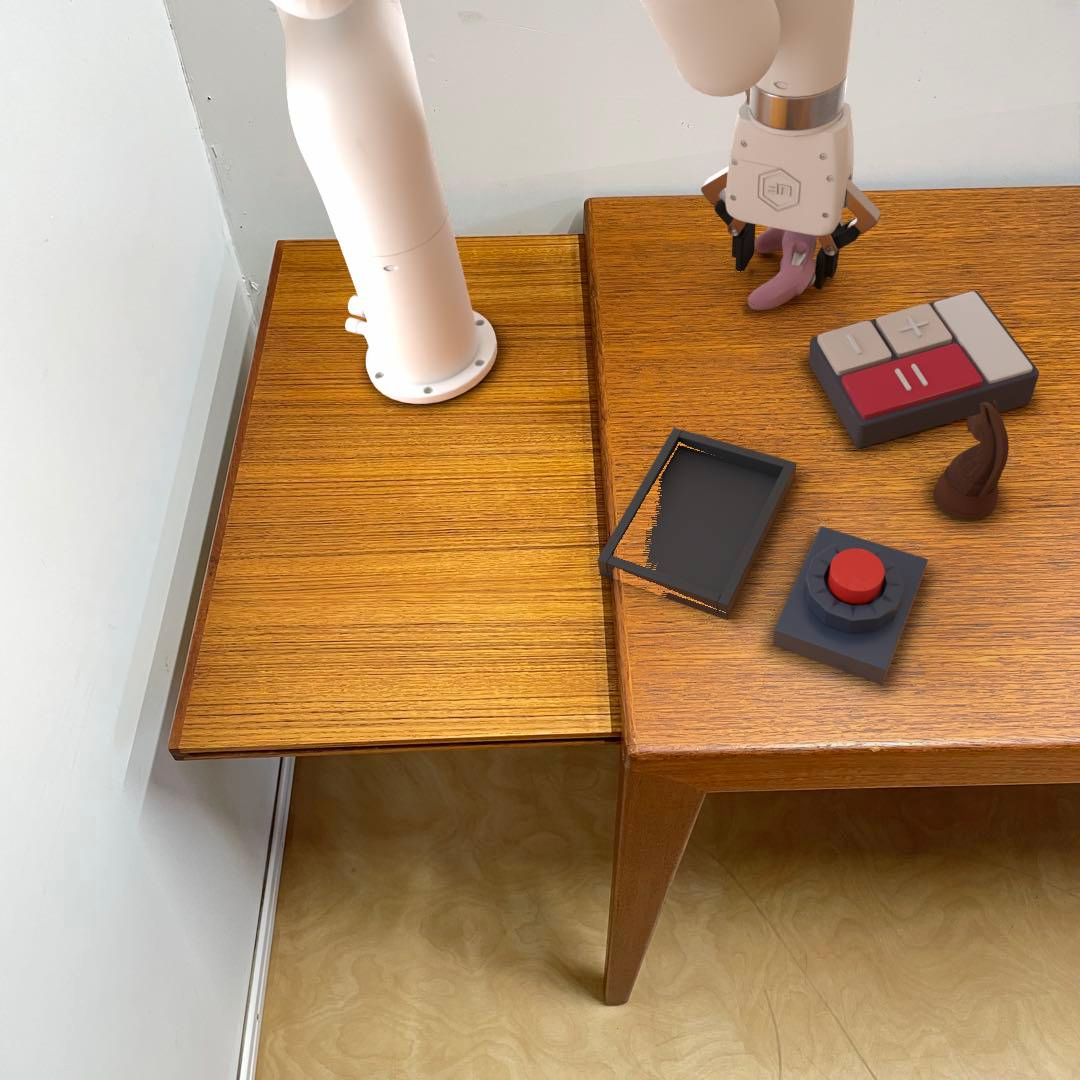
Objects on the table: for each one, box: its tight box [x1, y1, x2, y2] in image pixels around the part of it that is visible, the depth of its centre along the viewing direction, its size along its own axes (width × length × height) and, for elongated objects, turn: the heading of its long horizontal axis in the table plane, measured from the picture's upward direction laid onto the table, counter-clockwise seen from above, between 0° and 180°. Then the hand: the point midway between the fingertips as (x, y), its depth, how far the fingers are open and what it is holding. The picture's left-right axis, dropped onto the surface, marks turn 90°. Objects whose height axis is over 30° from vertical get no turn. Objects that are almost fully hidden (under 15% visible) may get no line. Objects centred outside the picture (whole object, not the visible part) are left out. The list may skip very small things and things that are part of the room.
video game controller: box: [747, 227, 818, 311], centre depth 92 cm, size 10×5×7 cm, turn 168°
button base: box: [772, 525, 929, 686], centre depth 71 cm, size 8×10×4 cm
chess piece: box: [932, 400, 1010, 522], centre depth 73 cm, size 5×5×10 cm
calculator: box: [808, 290, 1040, 449], centre depth 83 cm, size 11×4×15 cm
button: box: [828, 549, 885, 605], centre depth 69 cm, size 4×4×2 cm
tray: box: [597, 427, 797, 621], centre depth 78 cm, size 11×15×2 cm
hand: (783, 270), depth 94 cm, fingers closed on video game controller, 7 cm apart
